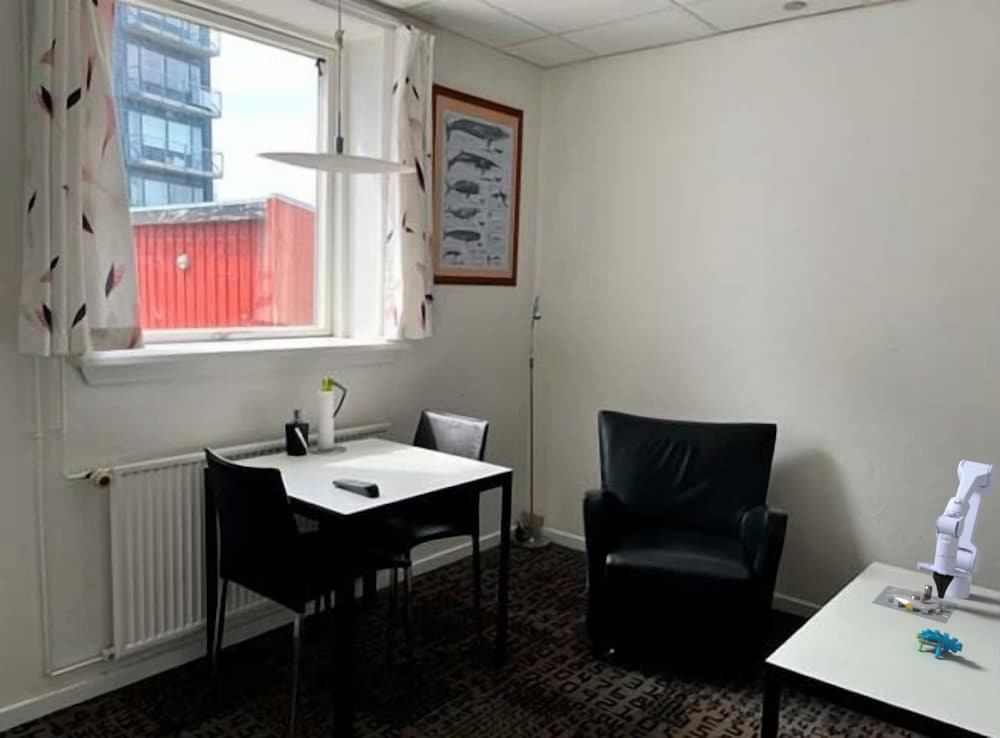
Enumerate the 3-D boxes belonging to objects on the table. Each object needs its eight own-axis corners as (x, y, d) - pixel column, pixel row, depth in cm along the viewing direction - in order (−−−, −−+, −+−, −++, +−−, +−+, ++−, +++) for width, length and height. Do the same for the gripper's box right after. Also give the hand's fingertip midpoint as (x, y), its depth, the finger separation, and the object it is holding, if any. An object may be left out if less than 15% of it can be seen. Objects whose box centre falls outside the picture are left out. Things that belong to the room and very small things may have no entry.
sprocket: (893, 588, 249) (894, 573, 248) (949, 603, 239) (951, 588, 238) (880, 602, 237) (882, 586, 236) (939, 618, 227) (941, 602, 226)
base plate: (887, 588, 252) (888, 585, 252) (957, 607, 239) (957, 603, 239) (871, 605, 237) (871, 602, 236) (944, 626, 224) (945, 623, 224)
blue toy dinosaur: (968, 651, 205) (957, 632, 200) (963, 672, 202) (951, 652, 197) (923, 641, 213) (912, 622, 208) (918, 660, 210) (906, 641, 206)
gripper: (917, 551, 237) (912, 594, 239) (971, 564, 228) (965, 608, 230) (921, 546, 243) (917, 588, 244) (975, 558, 234) (969, 601, 235)
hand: (941, 597), depth 237 cm, fingers closed
